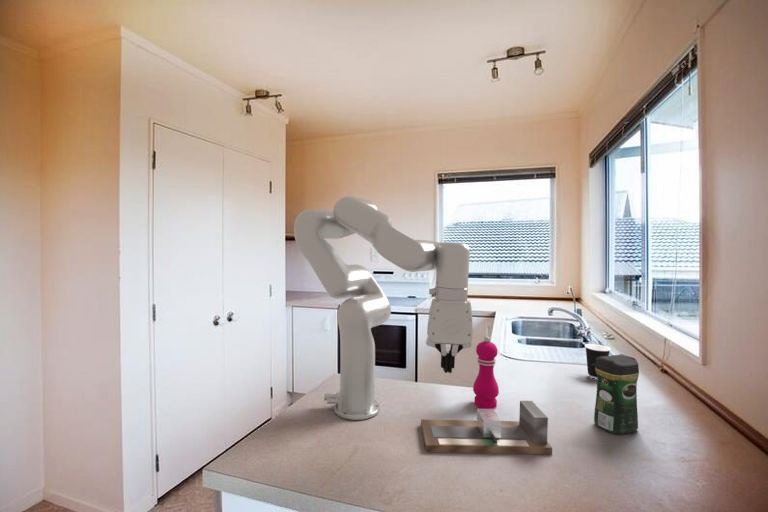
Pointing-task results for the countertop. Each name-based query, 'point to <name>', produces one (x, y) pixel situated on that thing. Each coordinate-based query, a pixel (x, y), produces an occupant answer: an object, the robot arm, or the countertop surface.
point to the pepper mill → (486, 376)
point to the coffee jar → (616, 393)
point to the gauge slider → (489, 424)
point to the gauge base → (468, 438)
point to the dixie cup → (594, 357)
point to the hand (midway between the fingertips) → (447, 370)
